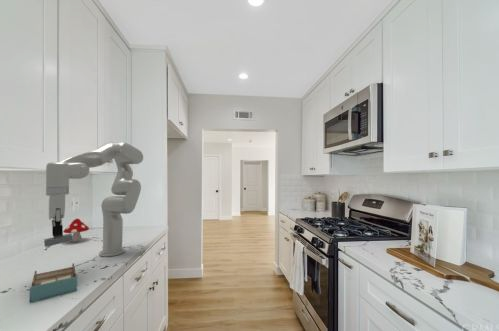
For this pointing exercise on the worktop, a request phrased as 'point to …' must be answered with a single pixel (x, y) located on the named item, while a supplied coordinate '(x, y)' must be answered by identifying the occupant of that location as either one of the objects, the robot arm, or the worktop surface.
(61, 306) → the worktop surface
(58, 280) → the oak block
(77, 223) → the decorative mushroom
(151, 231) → the worktop surface
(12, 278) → the worktop surface
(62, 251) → the worktop surface
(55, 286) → the teal tray
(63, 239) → the grey stepped block
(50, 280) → the oak block
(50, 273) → the walnut channel
